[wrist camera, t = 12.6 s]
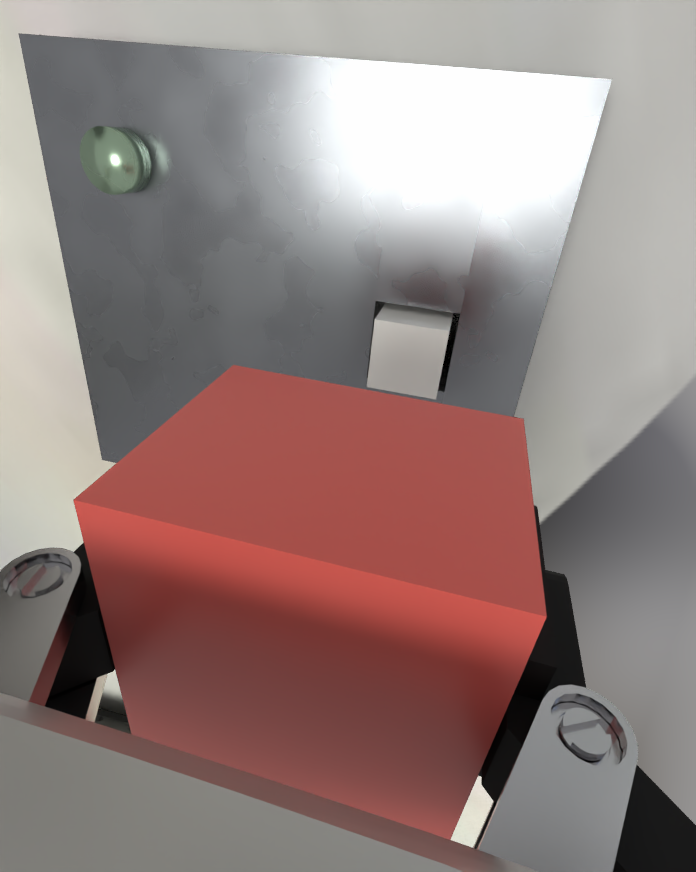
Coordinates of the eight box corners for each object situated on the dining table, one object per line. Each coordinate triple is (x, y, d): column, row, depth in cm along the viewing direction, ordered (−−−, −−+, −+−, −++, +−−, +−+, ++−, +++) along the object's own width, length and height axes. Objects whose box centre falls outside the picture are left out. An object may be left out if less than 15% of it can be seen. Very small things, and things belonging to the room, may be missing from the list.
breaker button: (442, 365, 25) (436, 399, 21) (382, 354, 25) (366, 386, 22) (454, 304, 23) (449, 331, 20) (390, 295, 24) (374, 319, 20)
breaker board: (477, 508, 29) (475, 559, 25) (132, 435, 32) (88, 470, 29) (594, 88, 19) (620, 74, 15) (72, 46, 22) (-7, 27, 19)
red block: (460, 624, 13) (446, 848, 9) (240, 568, 14) (134, 745, 10) (523, 418, 10) (546, 617, 6) (233, 364, 11) (73, 499, 7)
